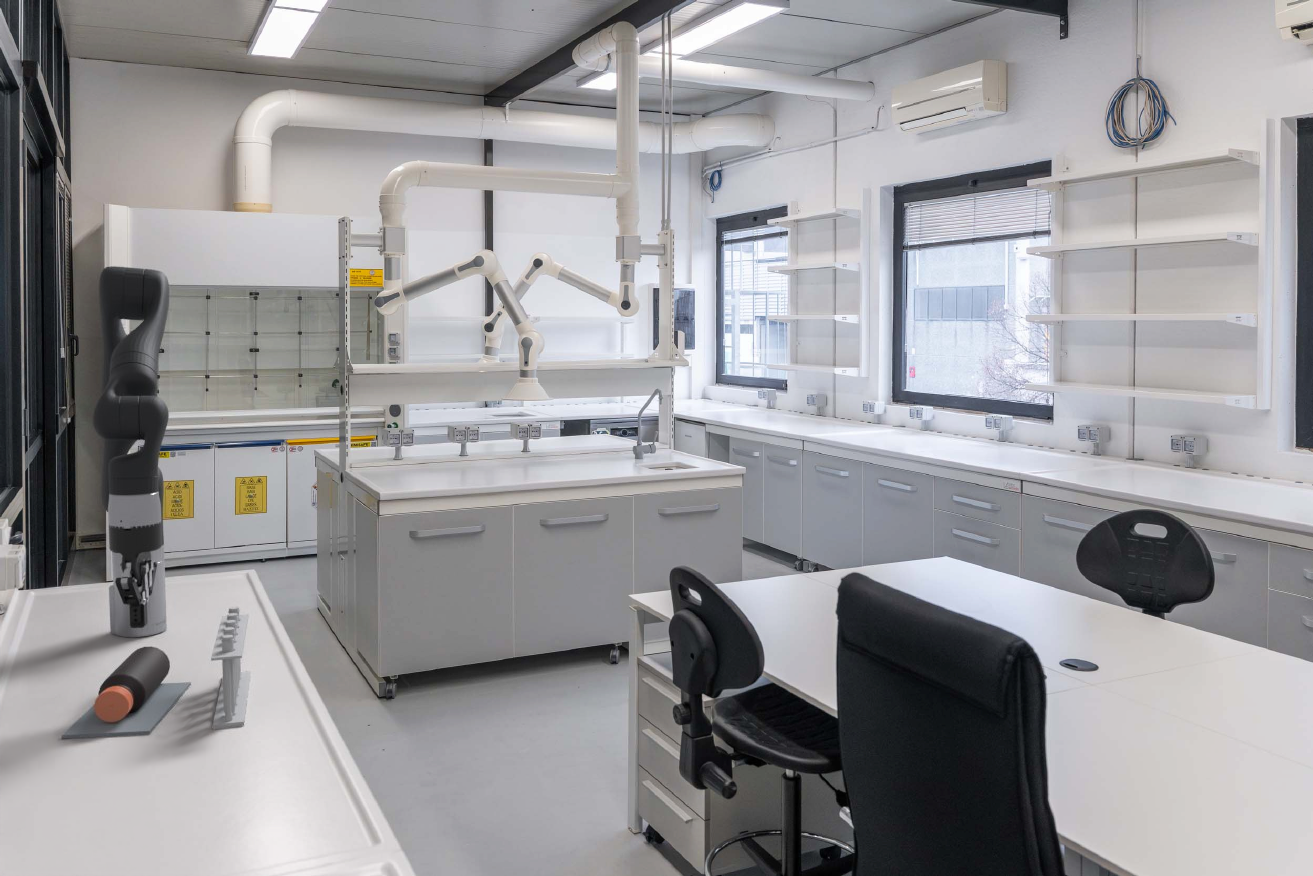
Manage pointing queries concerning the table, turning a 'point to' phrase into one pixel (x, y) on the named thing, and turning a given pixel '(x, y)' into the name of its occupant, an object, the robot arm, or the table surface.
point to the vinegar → (131, 684)
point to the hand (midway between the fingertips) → (138, 626)
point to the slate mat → (131, 716)
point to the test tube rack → (231, 670)
